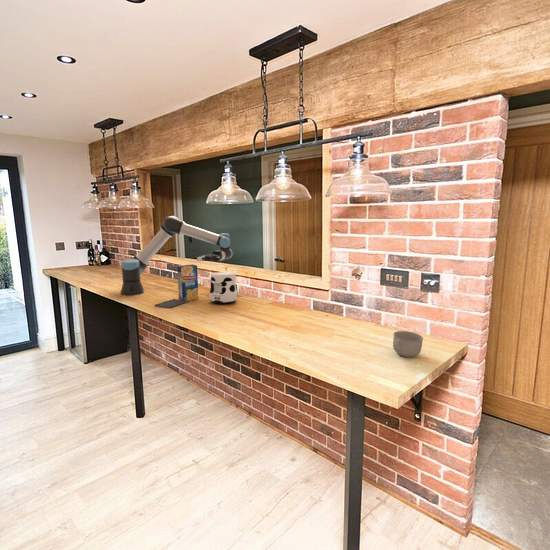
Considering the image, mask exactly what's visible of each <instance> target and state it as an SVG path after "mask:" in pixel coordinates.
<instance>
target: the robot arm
mask: <svg viewBox="0 0 550 550" xmlns="http://www.w3.org/2000/svg"><path fill="white" fill-rule="evenodd" d="M159 229H160V230H158V232H157V233H156V234H155V235H154V237H152V239H151V240H150V241H149V242H148V243H147V244H146V246H145V247H143V249H142V250H141V251H140V253H138V254H137V253H136V254H135V255H134V256H133V257H132V258H129V259H124V260H122V262H121V274H122V276H121V277H122V285H121V289H120V295H122V294H125V295H124V296H134V295H141V294H143V293H144V292H145V290H144V287H143V284H142V282H141V274H142V273H144V271H145V270H146V268H147V267H148V266H149V265H150V264H149V263H150V261H151V259H152V258H153V257H154V256H155V255H156V254H157V253H158V252H159V251H160V249H161V248H162V247H163V246H164V244H166V243H167V241H168V240H169V239H170V238H174V236H175V235H185V236H188V237H190V238H194V239H197V240H200V241H203V242H206V243H210V244H213V245H216V246H218V247H219V249H217V250H214V251H212V252H211V253H210V254H203V255H200V256H198V257H197V258H196V261H197V262H204V261H211V260H212V261H213V262H218V261H219V262H222V261H223V260H229V259H231V258H232V257H233V255H234V251H233V250H232V249H231V240H230V238H231V237H230V233H224V232H223V233H220V234H217V233H214V232H211V231H208V230H205V229H203V228H200V227H197V226H193V225H191V224H187V223H186V222H185V221H184V220H181V219H180V218H179V216H176V215H171V216H169V215H168V216H166V218H165V219H163V223H162V224H161V225H160V226H159Z"/></svg>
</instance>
